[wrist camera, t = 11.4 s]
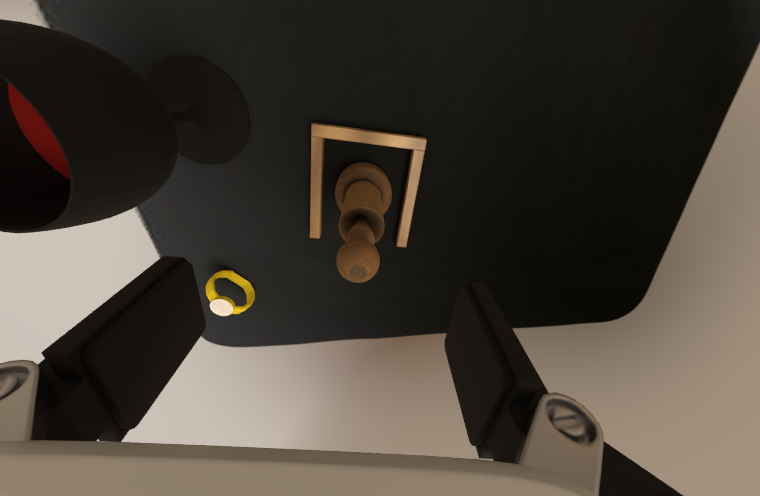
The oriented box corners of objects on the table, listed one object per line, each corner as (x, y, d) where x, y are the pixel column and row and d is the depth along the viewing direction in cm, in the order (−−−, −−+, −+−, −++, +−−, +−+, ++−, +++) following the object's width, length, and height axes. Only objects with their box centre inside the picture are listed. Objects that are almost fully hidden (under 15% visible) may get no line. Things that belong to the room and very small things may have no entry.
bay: (424, 137, 32) (426, 139, 31) (404, 242, 38) (405, 247, 37) (314, 122, 31) (311, 123, 30) (312, 232, 37) (309, 237, 36)
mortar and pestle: (402, 192, 35) (427, 275, 19) (362, 225, 37) (356, 325, 21) (365, 149, 32) (358, 204, 17) (325, 187, 34) (285, 268, 18)
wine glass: (125, 63, 28) (-289, 16, 10) (229, 47, 28) (-22, -30, 10) (175, 170, 33) (-49, 259, 15) (263, 157, 33) (136, 235, 15)
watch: (215, 271, 40) (191, 299, 34) (227, 260, 39) (204, 286, 34) (251, 297, 42) (234, 326, 37) (263, 286, 41) (247, 315, 36)
